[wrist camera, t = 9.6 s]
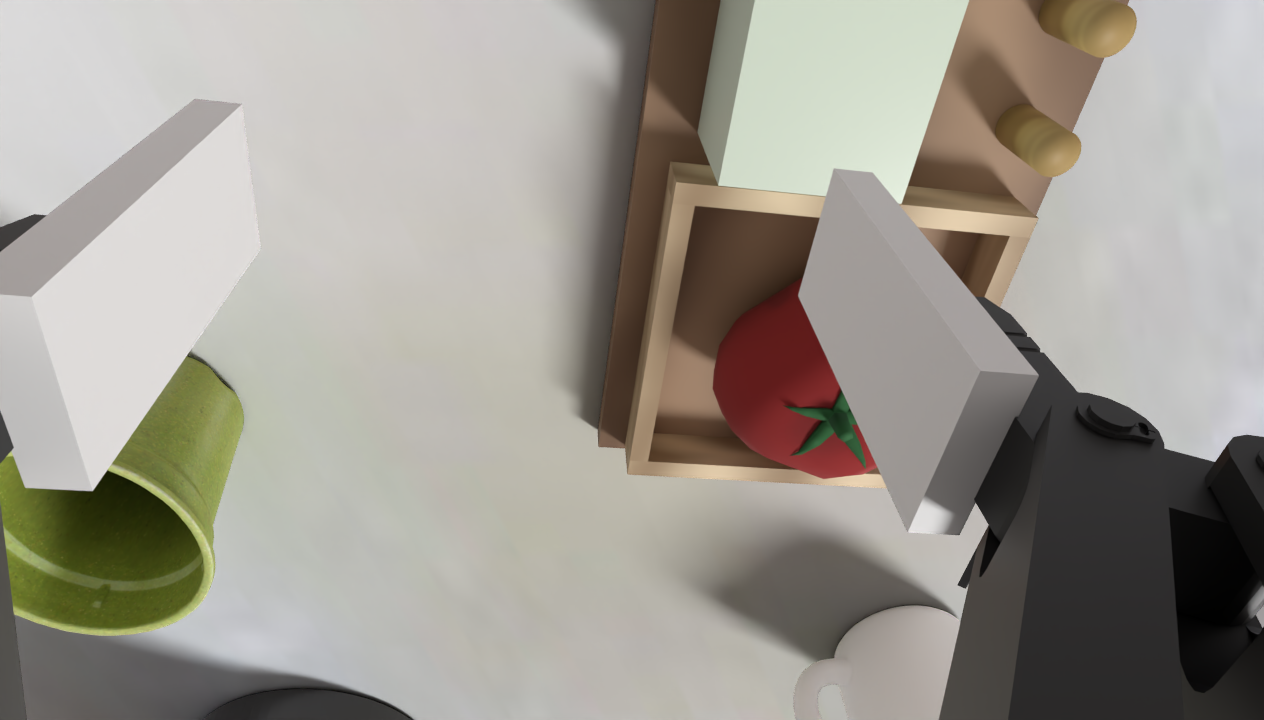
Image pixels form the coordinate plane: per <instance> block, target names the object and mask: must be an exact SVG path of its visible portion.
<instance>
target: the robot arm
mask: <svg viewBox="0 0 1264 720" xmlns="http://www.w3.org/2000/svg"><path fill="white" fill-rule="evenodd" d="M260 250H261V244H260V237H259V229H258V221H257V214H256V206H255V198H254V191H253V183H252V176H251V168H250V160H249V153H248V145H247V138H246V130H245V122H244V115H243V107H242V104H237V103H227V102H218V101H209V100H200V99H194V100H193V101H192V102H190V103H189V104H188V105H187V106H185V107H184V108H183V109H182V110H180V111H179V112H178V113H176V114H175V115H174V116H173V117H171V118H170V119H169V120H168V121H166V122H165V123H164V124H162V125H161V126H160V127H159V128H157V129H156V130H155V131H154V132H152V133H151V134H150V135H148V136H147V137H146V138H145V139H143V140H142V141H141V142H140V143H138V144H137V145H136V146H134V147H133V148H132V149H131V150H129V151H128V152H127V153H126V154H124V155H123V156H122V157H120V158H119V159H118V160H117V161H115V162H114V163H113V164H112V165H110V166H109V167H108V168H106V169H105V170H104V171H103V172H101V173H100V174H99V175H98V176H96V177H95V178H94V179H92V180H91V181H90V182H89V183H87V184H86V185H85V186H84V187H82V188H81V189H80V190H79V191H77V192H76V193H75V194H73V195H72V196H71V197H70V198H68V199H67V200H66V201H65V202H63V203H62V204H61V205H59V206H58V207H57V208H56V209H54V210H53V211H52V212H51V213H49V214H48V215H35V214H34V215H31V216H29V217H26V218H24V219H21V220H18V221H16V222H13V223H11V224H8V225H5V226H3V227H0V463H1V462H2V461H3V460H4V459H5V458H6V456H7V455H8V454H9V453H10V452H11V451H12V454H13V457H14V459H15V462H16V465H17V467H18V470H19V473H20V475H21V478H22V481H23V483H24V486H25V488H39V489H59V490H78V491H93V490H94V489H95V487H96V486H97V484H98V483H99V481H100V480H101V478H102V477H103V476H104V474H105V473H106V471H107V470H108V468H109V467H110V465H111V464H112V463H113V461H114V460H115V458H116V457H117V455H118V454H119V453H120V451H121V450H122V448H123V447H124V445H125V444H126V442H127V441H128V440H129V438H130V437H131V435H132V434H133V432H134V431H135V430H136V428H137V427H138V425H139V424H140V422H141V421H142V419H143V418H144V417H145V415H146V414H147V412H148V411H149V409H150V408H151V406H152V405H153V404H154V402H155V401H156V399H157V398H158V396H159V395H160V394H161V392H162V391H163V389H164V388H165V386H166V385H167V383H168V382H169V381H170V379H171V378H172V376H173V375H174V373H175V372H176V370H177V369H178V368H179V366H180V365H181V363H182V362H183V360H184V359H185V358H186V356H187V355H188V353H189V352H190V350H191V349H192V347H193V346H194V345H195V343H196V342H197V340H198V339H199V337H200V336H201V335H202V333H203V332H204V330H205V329H206V327H207V326H208V324H209V323H210V322H211V320H212V319H213V317H214V316H215V314H216V313H217V311H218V310H219V309H220V307H221V306H222V304H223V303H224V301H225V300H226V299H227V297H228V296H229V294H230V293H231V291H232V290H233V288H234V287H235V286H236V284H237V283H238V281H239V280H240V278H241V277H242V275H243V274H244V273H245V271H246V270H247V268H248V267H249V265H250V264H251V263H252V261H253V260H254V258H255V257H256V255H257V254H258V252H259V251H260ZM798 297H799V299H800V301H801V303H802V305H803V308H804V310H805V312H806V314H807V316H808V318H809V321H810V323H811V325H812V327H813V329H814V331H815V334H816V336H817V338H818V340H819V342H820V344H821V347H822V349H823V351H824V353H825V355H826V357H827V359H828V362H829V364H830V366H831V368H832V370H833V372H834V375H835V377H836V379H837V381H838V383H839V385H840V388H841V390H842V392H843V394H844V396H845V398H846V400H847V403H848V405H849V407H850V409H851V411H852V413H853V416H854V418H855V420H856V422H857V424H858V426H859V429H860V431H861V433H862V435H863V437H864V439H865V442H866V444H867V446H868V448H869V450H870V452H871V454H872V457H873V459H874V461H875V463H876V465H877V467H878V470H879V472H880V474H881V476H882V478H883V480H884V483H885V485H886V487H887V489H888V491H889V493H890V496H891V498H892V500H893V502H894V504H895V506H896V508H897V511H898V513H899V515H900V517H901V519H902V521H903V524H904V526H905V528H906V530H907V532H908V533H927V534H947V535H960V533H961V531H962V529H963V527H964V525H965V523H966V521H967V519H968V517H969V515H970V513H971V511H972V509H973V507H974V505H975V503H976V504H977V505H978V507H979V509H980V511H981V512H982V514H983V516H984V517H985V519H986V521H987V523H988V524H989V526H988V528H987V529H986V531H985V533H984V535H983V537H982V539H981V541H980V543H979V545H978V547H977V549H976V551H975V552H974V554H973V556H972V558H971V560H970V562H969V564H968V566H967V568H966V570H965V572H964V573H963V575H962V577H961V579H960V581H959V583H958V586H961V587H963V588H965V589H966V587H967V586H968V584H969V586H968V591H967V595H966V600H965V604H964V609H963V613H962V618H961V622H960V627H959V631H958V635H957V640H956V644H955V649H954V653H953V658H952V662H951V667H950V671H949V676H948V680H947V685H946V689H945V694H944V698H943V702H942V707H941V711H940V716H939V720H1264V627H1263V628H1262V627H1261V624H1260V622H1259V620H1258V619H1257V617H1256V614H1257V612H1258V611H1259V610H1260V609H1261V608H1262V606H1263V605H1264V437H1259V436H1252V435H1243V436H1237V437H1233V438H1232V440H1231V441H1230V442H1229V443H1228V445H1227V446H1226V447H1225V449H1224V450H1223V452H1222V453H1221V455H1220V456H1219V458H1218V459H1217V460H1216V462H1212V461H1209V460H1205V459H1201V458H1197V457H1193V456H1190V455H1186V454H1182V453H1178V452H1175V451H1171V450H1167V449H1164V442H1163V440H1162V438H1161V435H1160V433H1159V431H1158V430H1157V429H1156V428H1155V427H1154V426H1153V425H1152V424H1151V423H1150V422H1149V421H1148V420H1147V419H1146V418H1144V417H1143V416H1141V415H1140V414H1138V413H1136V412H1135V411H1133V410H1132V409H1130V408H1129V407H1127V406H1124V405H1122V404H1120V403H1118V402H1115V401H1113V400H1111V399H1108V398H1105V397H1101V396H1097V395H1093V394H1090V393H1079V392H1077V391H1076V390H1075V388H1074V387H1073V386H1072V385H1071V384H1070V383H1069V381H1068V380H1067V379H1066V378H1065V377H1064V376H1063V375H1062V373H1061V372H1060V371H1059V370H1058V369H1057V368H1056V366H1055V365H1054V364H1053V363H1052V362H1051V361H1050V359H1049V358H1048V357H1047V356H1046V355H1045V354H1044V353H1041V352H1040V348H1039V347H1038V346H1037V344H1036V343H1035V342H1034V341H1033V340H1032V339H1031V337H1027V333H1026V332H1025V330H1024V329H1023V328H1022V327H1021V326H1020V325H1019V324H1018V322H1017V321H1016V320H1015V319H1014V318H1013V317H1012V315H1011V314H1009V313H1008V312H1006V311H1005V310H1003V309H1002V308H1000V307H999V306H997V305H996V304H994V303H993V302H991V301H990V300H988V299H987V298H985V297H976V296H974V295H973V294H972V293H971V292H970V291H969V289H968V288H967V287H966V286H965V284H964V283H963V282H962V281H961V280H960V278H959V277H958V276H957V275H956V273H955V272H954V271H953V270H952V269H951V267H950V266H949V265H948V264H947V262H946V261H945V260H944V259H943V258H942V256H941V255H940V254H939V253H938V252H937V250H936V249H935V248H934V247H933V245H932V244H931V243H930V242H929V241H928V239H927V238H926V237H925V236H924V234H923V233H922V232H921V231H920V230H919V228H918V227H917V226H916V225H915V223H914V222H913V221H912V220H911V219H910V217H909V216H908V215H907V214H906V213H905V211H904V210H903V209H902V208H901V206H900V205H899V204H898V203H897V202H896V200H895V199H894V198H893V197H892V195H891V194H890V193H889V192H888V191H887V189H886V188H885V187H884V186H883V184H882V183H881V182H880V181H879V180H878V178H877V177H876V176H875V175H874V174H873V172H863V171H854V170H845V169H836V168H834V169H833V173H832V177H831V180H830V184H829V187H828V191H827V194H826V198H825V201H824V205H823V209H822V212H821V216H820V219H819V223H818V226H817V230H816V233H815V237H814V241H813V244H812V248H811V251H810V255H809V258H808V262H807V265H806V269H805V273H804V276H803V280H802V283H801V287H800V290H799V294H798ZM0 720H27V718H26V710H25V702H24V693H23V685H22V677H21V669H20V660H19V652H18V644H17V636H16V627H15V619H14V611H13V603H12V594H11V586H10V578H9V570H8V561H7V553H6V545H5V536H4V528H3V520H2V512H1V503H0ZM203 720H411V719H409V718H408V717H406V716H405V715H403V714H401V713H400V712H398V711H396V710H394V709H392V708H390V707H388V706H386V705H383V704H381V703H378V702H375V701H373V700H370V699H366V698H363V697H359V696H355V695H351V694H346V693H341V692H335V691H327V690H315V689H288V690H276V691H269V692H263V693H258V694H254V695H250V696H246V697H243V698H240V699H237V700H234V701H232V702H230V703H227V704H225V705H223V706H221V707H219V708H218V709H216V710H215V711H213V712H212V713H210V714H209V715H208V716H207V717H205V718H204V719H203Z"/></svg>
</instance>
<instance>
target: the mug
mask: <svg viewBox="0 0 1264 720" xmlns="http://www.w3.org/2000/svg"><path fill="white" fill-rule="evenodd" d="M959 627H960V621H959V620H958V619H957V618H956V617H954V616H953V615H951V614H950V613H948V612H945V611H943V610H940V609H937V608H933V607H928V606H918V605H911V606H900V607H895V608H890V609H886V610H883V611H880V612H878V613H875V614H873V615H871V616H869V617H867V618H865V619H863V620H861V621H860V622H859V623H857V624H856V625H855V626H853V627H852V628H851V629H850V630H849V631H848V632H847V633H846V634H845V635H844V637H843V638H842V640H841V641H840V642H839V644H838V646H837V648H836V652H835V656H834V658H832V659H825V660H820V661H817V662H815V663H813V664H811V665H810V666H809V667H808V668H806V669H805V670H804V671H803V672H802V674H801V675H800V677H799V678H798V681H797V683H796V686H795V691H794V712H795V718H796V720H822V719H821V716H820V713H819V708H818V694H819V692H820V690H821V688H823V687H825V686H827V685H832V684H836V685H838V687H839V690H840V693H841V697H842V700H843V703H844V706H845V709H846V713H847V716H848V719H849V720H939V716H940V711H941V707H942V702H943V698H944V694H945V689H946V685H947V680H948V676H949V671H950V667H951V662H952V658H953V653H954V649H955V644H956V640H957V635H958V631H959Z"/></svg>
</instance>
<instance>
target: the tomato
mask: <svg viewBox="0 0 1264 720" xmlns="http://www.w3.org/2000/svg"><path fill="white" fill-rule="evenodd" d="M802 280H803V278H800V279H798V280H797V281H795V282H793V283H792V284H790V285H789V286H787V287H785V288H784V289H782V290H781V291H779V292H777V293H776V294H774V295H772V296H771V297H769V298H768V299H766V300H764V301H763V302H761V303H759V304H758V305H756V306H755V307H753V308H751V309H750V310H748V311H746V312H745V313H743V314H742V315H741V316H740V317H739V318H738V319H737V320H736V321H735V323H734V324H733V326H732V327H731V328H730V330H729V331H728V333H727V334H726V336H725V337H724V339H723V340H722V342H721V343H720V345H719V349H718V354H717V358H716V363H715V368H714V375H713V391H714V394H715V397H716V399H717V402H718V405H719V407H720V410H721V412H722V414H723V416H724V418H725V419H726V421H727V423H728V425H729V426H730V428H731V430H732V431H733V432H734V433H735V434H736V435H737V436H738V437H739V438H740V439H741V440H742V441H743V442H744V443H745V444H746V445H747V446H748V447H749V448H750V449H751V450H753V451H755V452H757V453H759V454H761V455H762V456H764V457H766V458H768V459H771V460H773V461H776V462H779V463H781V464H784V465H787V466H789V467H792V468H795V469H798V470H800V471H803V472H806V473H808V474H811V475H814V476H816V477H819V478H822V479H829V478H836V477H844V476H853V475H863V474H865V473H867V472H869V471H871V470H873V469H875V468H877V465H876V463H875V461H874V459H873V457H872V454H871V452H870V450H869V448H868V446H867V444H866V442H865V439H864V437H863V435H862V433H861V431H860V429H859V426H858V424H857V422H856V420H855V418H854V416H853V413H852V411H851V409H850V407H849V405H848V403H847V400H846V398H845V396H844V394H843V392H842V390H841V388H840V385H839V383H838V381H837V379H836V377H835V375H834V372H833V370H832V368H831V366H830V364H829V362H828V359H827V357H826V355H825V353H824V351H823V349H822V347H821V344H820V342H819V340H818V338H817V336H816V334H815V331H814V329H813V327H812V325H811V323H810V321H809V318H808V316H807V314H806V312H805V310H804V308H803V305H802V303H801V301H800V299H799V297H798V294H799V290H800V287H801V283H802Z"/></svg>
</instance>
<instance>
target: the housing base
mask: <svg viewBox="0 0 1264 720" xmlns="http://www.w3.org/2000/svg"><path fill="white" fill-rule="evenodd" d="M720 1H721V0H656V2H655V9H654V17H653V24H652V32H651V39H650V47H649V54H648V61H647V69H646V76H645V84H644V91H643V98H642V106H641V113H640V121H639V128H638V136H637V143H636V150H635V158H634V165H633V173H632V180H631V188H630V195H629V202H628V210H627V217H626V225H625V232H624V239H623V247H622V254H621V262H620V269H619V277H618V284H617V291H616V299H615V306H614V314H613V321H612V328H611V336H610V343H609V351H608V358H607V366H606V373H605V380H604V388H603V395H602V403H601V410H600V417H599V425H598V446H599V447H611V448H625V452H626V463H627V474H630V475H649V476H667V477H686V478H704V479H723V480H742V481H760V482H779V483H797V484H816V485H834V486H853V487H871V488H887V487H886V485H885V483H884V480H883V478H882V476H881V474H880V472H879V470H878V467H877V468H875V469H873V470H871V471H869V472H867V473H865V474H863V475H853V476H844V477H836V478H829V479H822V478H819V477H816V476H814V475H811V474H808V473H806V472H803V471H800V470H798V469H795V468H792V467H789V466H787V465H784V464H781V463H779V462H776V461H773V460H771V459H768V458H766V457H764V456H762V455H761V454H759V453H757V452H755V451H753V450H751V449H750V448H749V447H748V446H747V445H746V444H745V443H744V442H743V441H742V440H741V439H740V438H739V437H738V436H737V435H736V434H735V433H734V432H733V431H732V430H731V428H730V426H729V425H728V423H727V421H726V419H725V418H724V416H723V414H722V412H721V410H720V407H719V405H718V402H717V399H716V397H715V394H714V391H713V375H714V368H715V363H716V358H717V354H718V349H719V345H720V343H721V342H722V340H723V339H724V337H725V336H726V334H727V333H728V331H729V330H730V328H731V327H732V326H733V324H734V323H735V321H736V320H737V319H738V318H739V317H740V316H741V315H742V314H743V313H745V312H746V311H748V310H750V309H751V308H753V307H755V306H756V305H758V304H759V303H761V302H763V301H764V300H766V299H768V298H769V297H771V296H772V295H774V294H776V293H777V292H779V291H781V290H782V289H784V288H785V287H787V286H789V285H790V284H792V283H793V282H795V281H797V280H798V279H800V278H803V276H804V273H805V269H806V265H807V262H808V258H809V255H810V251H811V248H812V244H813V241H814V237H815V233H816V230H817V226H818V223H819V219H820V216H821V212H822V209H823V205H824V201H825V198H826V196H818V195H807V194H797V193H787V192H777V191H767V190H757V189H747V188H737V187H727V186H718V184H717V181H716V179H715V176H714V173H713V171H712V168H711V166H710V163H709V161H708V158H707V156H706V153H705V151H704V148H703V145H702V143H701V140H700V138H699V135H698V133H697V132H698V126H699V121H700V115H701V109H702V103H703V98H704V92H705V86H706V81H707V75H708V69H709V64H710V58H711V52H712V47H713V41H714V35H715V30H716V24H717V18H718V12H719V7H720ZM1128 2H1129V0H969V3H968V6H967V9H966V12H965V15H964V18H963V21H962V24H961V27H960V30H959V33H958V36H957V39H956V42H955V45H954V48H953V51H952V54H951V57H950V60H949V63H948V66H947V69H946V72H945V75H944V78H943V81H942V84H941V87H940V90H939V93H938V96H937V99H936V102H935V105H934V108H933V111H932V114H931V117H930V120H929V123H928V126H927V129H926V132H925V135H924V138H923V141H922V144H921V147H920V150H919V153H918V156H917V159H916V162H915V165H914V168H913V171H912V174H911V177H910V180H909V183H908V186H907V189H906V192H905V195H904V198H903V201H902V204H899V205H900V206H901V208H902V209H903V210H904V211H905V213H906V214H907V215H908V216H909V217H910V219H911V220H912V221H913V222H914V223H915V225H916V226H917V227H918V228H919V230H920V231H921V232H922V233H923V234H924V236H925V237H926V238H927V239H928V241H929V242H930V243H931V244H932V245H933V247H934V248H935V249H936V250H937V252H938V253H939V254H940V255H941V256H942V258H943V259H944V260H945V261H946V262H947V264H948V265H949V266H950V267H951V269H952V270H953V271H954V272H955V273H956V275H957V276H958V277H959V278H960V280H961V281H962V282H963V283H964V284H965V286H966V287H967V288H968V289H969V291H970V292H971V293H972V294H973V295H974V296H976V297H985V298H987V299H988V300H990V301H991V302H993V303H994V304H996V305H997V306H999V307H1000V306H1001V303H1002V301H1003V299H1004V296H1005V294H1006V292H1007V290H1008V287H1009V285H1010V283H1011V280H1012V278H1013V276H1014V273H1015V271H1016V269H1017V267H1018V264H1019V262H1020V260H1021V257H1022V255H1023V253H1024V251H1025V248H1026V246H1027V244H1028V241H1029V239H1030V237H1031V235H1032V232H1033V230H1034V228H1035V225H1036V223H1037V221H1038V217H1037V216H1036V214H1037V212H1038V210H1039V207H1040V205H1041V203H1042V200H1043V198H1044V196H1045V194H1046V191H1047V189H1048V187H1049V184H1050V182H1051V180H1052V177H1055V176H1058V175H1061V174H1063V173H1065V172H1066V171H1068V170H1069V169H1070V168H1071V167H1072V166H1073V165H1074V164H1075V163H1076V161H1077V160H1078V158H1079V155H1080V152H1081V142H1080V140H1079V138H1078V137H1077V136H1076V135H1075V134H1074V133H1072V131H1073V129H1074V127H1075V124H1076V122H1077V120H1078V117H1079V115H1080V113H1081V111H1082V108H1083V106H1084V104H1085V101H1086V99H1087V97H1088V94H1089V92H1090V90H1091V87H1092V85H1093V83H1094V81H1095V78H1096V76H1097V74H1098V71H1099V69H1100V67H1101V64H1102V62H1103V60H1104V57H1109V56H1112V55H1114V54H1116V53H1118V52H1119V51H1121V50H1122V49H1123V48H1124V47H1125V46H1126V45H1127V44H1128V43H1129V41H1130V40H1131V38H1132V37H1133V35H1134V32H1135V29H1136V22H1137V20H1136V15H1135V13H1134V11H1133V9H1132V8H1131V7H1129V6H1128V5H1127V4H1128Z"/></svg>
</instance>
